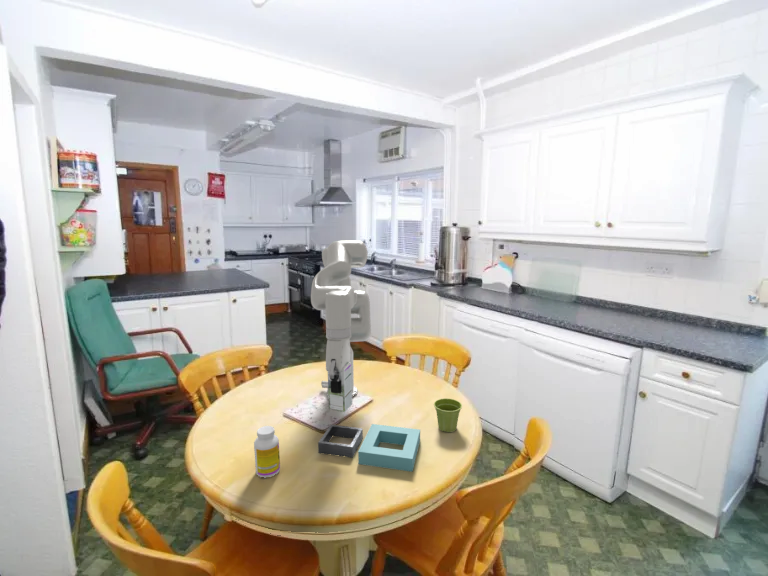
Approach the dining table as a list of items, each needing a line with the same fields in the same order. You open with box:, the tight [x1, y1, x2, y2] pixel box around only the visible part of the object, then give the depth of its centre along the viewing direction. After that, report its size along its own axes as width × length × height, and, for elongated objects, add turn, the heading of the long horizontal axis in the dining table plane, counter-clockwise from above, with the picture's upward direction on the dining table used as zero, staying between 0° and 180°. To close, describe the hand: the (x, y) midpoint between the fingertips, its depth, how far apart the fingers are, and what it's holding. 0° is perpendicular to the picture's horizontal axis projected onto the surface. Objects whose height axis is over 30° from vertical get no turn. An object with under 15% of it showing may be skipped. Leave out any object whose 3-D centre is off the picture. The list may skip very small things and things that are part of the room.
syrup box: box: [327, 362, 353, 413], centre depth 121 cm, size 6×6×14 cm
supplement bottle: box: [253, 425, 281, 479], centre depth 110 cm, size 7×7×13 cm
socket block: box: [357, 423, 421, 473], centre depth 120 cm, size 16×16×4 cm
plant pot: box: [433, 398, 463, 433], centre depth 134 cm, size 9×9×9 cm
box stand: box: [317, 424, 364, 459], centre depth 124 cm, size 11×11×4 cm
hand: (340, 387), depth 121 cm, fingers closed on syrup box, 6 cm apart
